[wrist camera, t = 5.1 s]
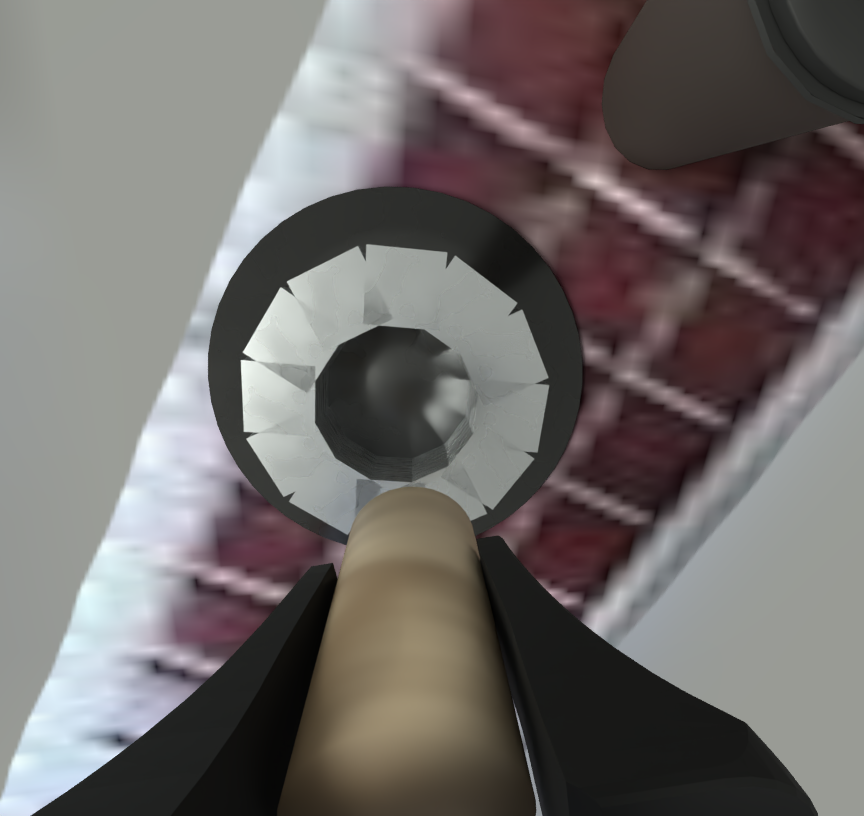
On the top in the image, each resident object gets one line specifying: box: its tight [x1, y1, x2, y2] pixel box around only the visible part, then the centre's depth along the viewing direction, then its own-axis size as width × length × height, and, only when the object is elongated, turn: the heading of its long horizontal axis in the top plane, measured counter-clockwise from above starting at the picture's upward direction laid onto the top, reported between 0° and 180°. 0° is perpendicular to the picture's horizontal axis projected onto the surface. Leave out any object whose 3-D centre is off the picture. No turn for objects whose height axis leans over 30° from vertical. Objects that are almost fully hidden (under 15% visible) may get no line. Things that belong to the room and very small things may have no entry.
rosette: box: [208, 187, 582, 545], centre depth 17 cm, size 17×17×3 cm
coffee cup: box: [602, 0, 864, 170], centre depth 11 cm, size 8×8×10 cm
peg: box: [277, 487, 536, 816], centre depth 10 cm, size 4×4×7 cm
